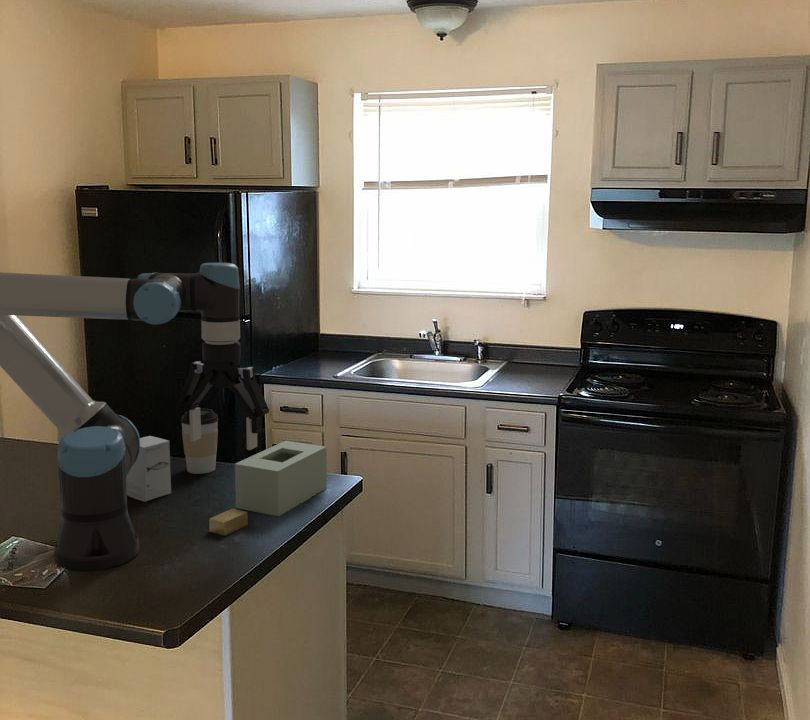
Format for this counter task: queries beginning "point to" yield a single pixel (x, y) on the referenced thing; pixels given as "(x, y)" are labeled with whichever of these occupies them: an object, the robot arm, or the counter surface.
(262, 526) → the counter surface
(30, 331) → the robot arm
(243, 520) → the tan wooden block
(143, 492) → the supplement box
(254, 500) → the grey box with slot
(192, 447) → the coffee cup
